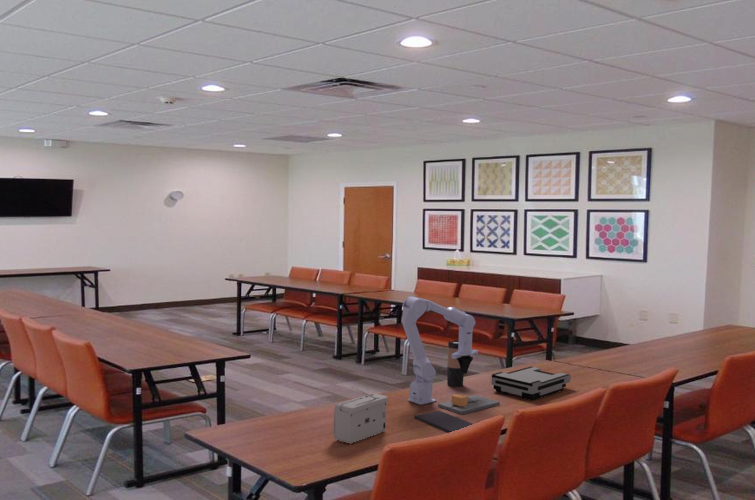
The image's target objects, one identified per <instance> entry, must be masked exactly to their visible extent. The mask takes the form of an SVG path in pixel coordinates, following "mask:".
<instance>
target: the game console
mask: <svg viewBox="0 0 755 500" xmlns="http://www.w3.org/2000/svg"><path fill="white" fill-rule="evenodd" d="M568 383H571V374H569V373H564V372H558V373H552V372H547V371H545V370H544V371H543V370H541V368H539V367H535V366H529V367H528V366H527V367H524V368H521V369H516V370H513V371H508V372H502V371H499V372H496V373H492V374H491V384H490V385H492V386H493V390H495V392H497V393H500V394H504V395H509V394H513V395H516V396H520V398H521V399H524V398H525V400H528V399H530V400H529V401H532V400H534V401H537V400H539V399H538V398H540V399H542V398H541V397H543V398H545V397H544V396H546V397H548V396H547V395H549V396H551V395H550V394H552V395H554V394H553V393H555V394H557V393H556V392H558V393H560V392H559V391H561V392H563V391H564V388H565V387H567V384H568ZM562 390H563V391H562ZM536 399H537V400H536Z"/></svg>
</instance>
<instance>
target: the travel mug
mask: <svg viewBox="0 0 755 500" xmlns="http://www.w3.org/2000/svg"><path fill="white" fill-rule="evenodd" d="M458 344H459V339H458V340H457V339H456V340H453V341H450V340H449V341H448V343H447V345H448V346H447V363H446V364H447V366H446V367H447V368H446V369H447V371H446V372H447V373H446V375H447V378H446V380H447V382H446V384H447V386H449V387H451V388H460V387H463V386H464V378H465V377H464V376H465V374H463V373H461V368H460V365H459V362H458V360H457V358H456V359H453V358H452V354H453V353H455V352H458Z"/></svg>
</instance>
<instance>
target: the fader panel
mask: <svg viewBox="0 0 755 500" xmlns="http://www.w3.org/2000/svg"><path fill="white" fill-rule="evenodd" d="M467 397H468V401H467V405H465V406H461V407H460V406H457V405H454V404H452V400H448V401H444V402H440V403H438V404H437V406H438V408H440V409H444V410H447V411H449V412H450V411H451V412H454V413H456V414H458V415H465V414H466V415H467V414H470V413H473V412H477V411H482V410H484V409H485V410H486V409H489V408H493V407H496V406H500V401H498V400H494V399H491V398H488V397H485V396H481V395H477V394H474V395H469V396H467Z"/></svg>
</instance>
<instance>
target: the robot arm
mask: <svg viewBox="0 0 755 500" xmlns="http://www.w3.org/2000/svg"><path fill="white" fill-rule="evenodd" d="M402 308H403V310H402V315H401V324H402V326H403V330H404V333H405V335H406V339H407V342H408V346H409V348H410V351H411V353H412V357H413V361H412V366H413V373H414V375H415V380H414V381H412V382H411V383H410V384H409V396H408V399H407V401H409V402H412V403H415V404H417V405H425V404H431V403H434V402H437V401H438V400H437V399H435V398H433V386H434V379H435V378H436V374H437V371H436V369H435V368H434V367H433V365H432V362H431V361H430V359H429V358H428V357H427V354H426V351H425V348H424V344H423V341H422V338H421V335H420V331H419V329H418V327H417V324H416V323H417V321H418V320H419V319H420V317H421V316H422V315H424V313H426V312H429V311H432V312H434V313H437V314H439V315H442V316H443V318H444V319H445V321H448V322H451V323H453V324H455V325H457V326H458V341H459V344H458V352H455V353H453V354H452V358H453V359H456V358H457V360H458V362H459V365H460V368H461V373H463V374H464V375H466V374H467V373H468V371H469V368H470V364H471V363H472V361H474V357H473V356H478V355H479V354H478V353H479V350H478V349H473V330H474V327H475V325H476V322H477V321H476V320H475V317H474V316H473V315H471V314H467V313H466V311H464V310H459V309H457V307H456V306H449V307H447V308H446V307H444V306H442V305H440V304H438V303H436V302H435V301H434V302H433V301H432V300H428V299H425V298H420V297H416V296H413V295H411V296H407V297H406V298H405V300H404V301H403V303H402Z"/></svg>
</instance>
